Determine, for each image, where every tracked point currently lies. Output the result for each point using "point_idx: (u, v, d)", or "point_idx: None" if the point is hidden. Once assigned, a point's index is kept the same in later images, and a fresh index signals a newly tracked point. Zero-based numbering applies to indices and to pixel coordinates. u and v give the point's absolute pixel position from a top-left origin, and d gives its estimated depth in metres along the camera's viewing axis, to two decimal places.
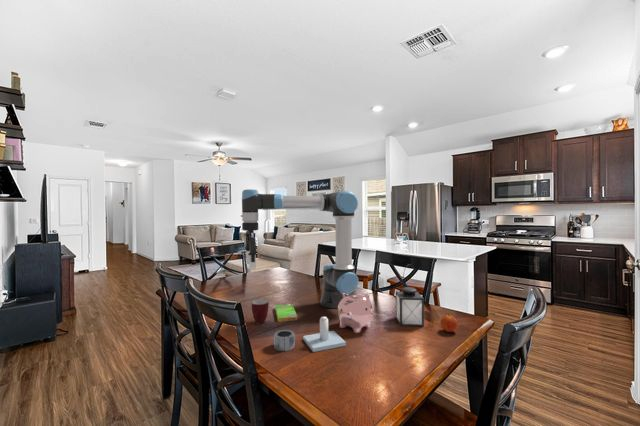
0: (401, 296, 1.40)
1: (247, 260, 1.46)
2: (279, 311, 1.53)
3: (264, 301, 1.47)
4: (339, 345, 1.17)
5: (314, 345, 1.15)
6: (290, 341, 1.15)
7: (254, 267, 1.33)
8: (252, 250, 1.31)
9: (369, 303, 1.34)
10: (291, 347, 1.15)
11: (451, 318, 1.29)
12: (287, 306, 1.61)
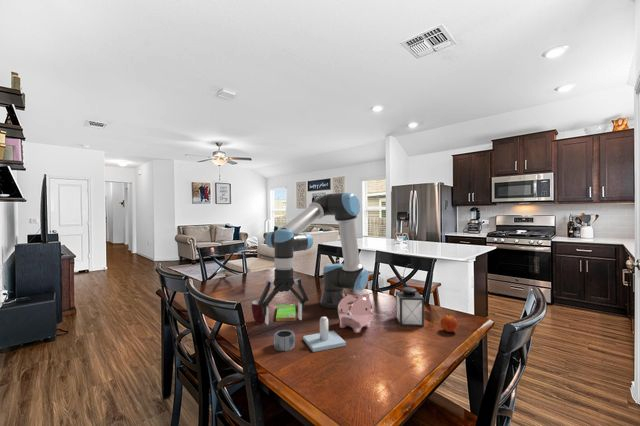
0: (401, 296, 1.40)
1: (298, 313, 1.21)
2: (280, 311, 1.53)
3: None
4: (339, 345, 1.17)
5: (314, 345, 1.15)
6: (290, 341, 1.15)
7: (266, 322, 1.14)
8: (259, 301, 1.14)
9: (369, 303, 1.34)
10: (291, 347, 1.15)
11: (451, 318, 1.29)
12: (289, 306, 1.61)
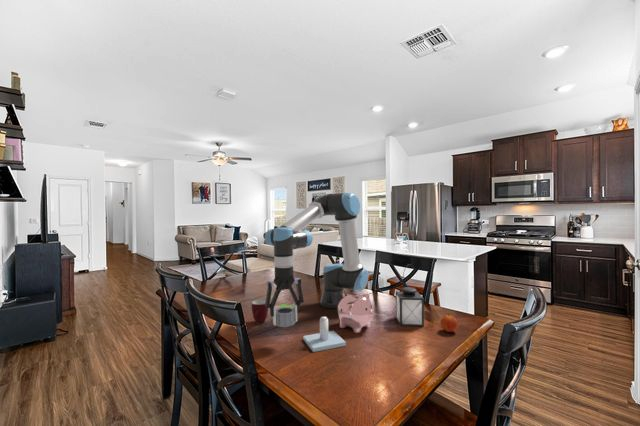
0: (401, 296, 1.40)
1: None
2: None
3: (264, 301, 1.47)
4: (339, 345, 1.17)
5: (314, 345, 1.15)
6: (291, 317, 1.15)
7: (273, 323, 1.16)
8: (265, 302, 1.16)
9: (369, 303, 1.34)
10: (292, 323, 1.16)
11: (451, 318, 1.29)
12: (291, 306, 1.61)
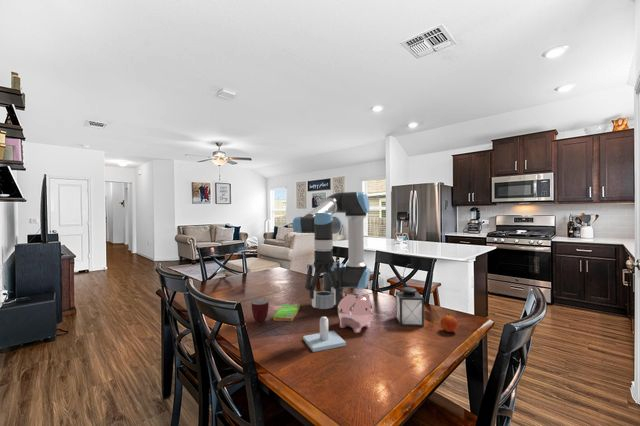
0: (401, 296, 1.40)
1: None
2: (280, 310, 1.54)
3: (264, 301, 1.47)
4: (339, 345, 1.17)
5: (314, 345, 1.15)
6: (330, 300, 1.18)
7: (313, 305, 1.18)
8: (306, 285, 1.18)
9: (369, 303, 1.34)
10: (331, 306, 1.18)
11: (451, 318, 1.29)
12: (292, 306, 1.61)
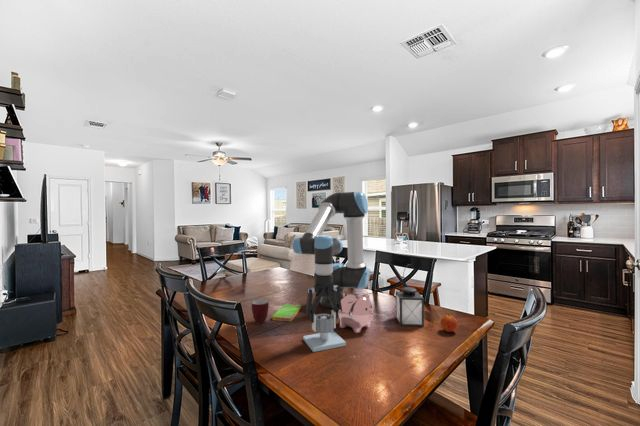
0: (401, 296, 1.40)
1: None
2: (280, 310, 1.54)
3: (264, 301, 1.47)
4: (339, 345, 1.17)
5: (314, 345, 1.15)
6: (330, 324, 1.18)
7: (313, 329, 1.18)
8: (306, 309, 1.18)
9: (369, 303, 1.34)
10: (331, 329, 1.18)
11: (451, 318, 1.29)
12: (293, 306, 1.60)
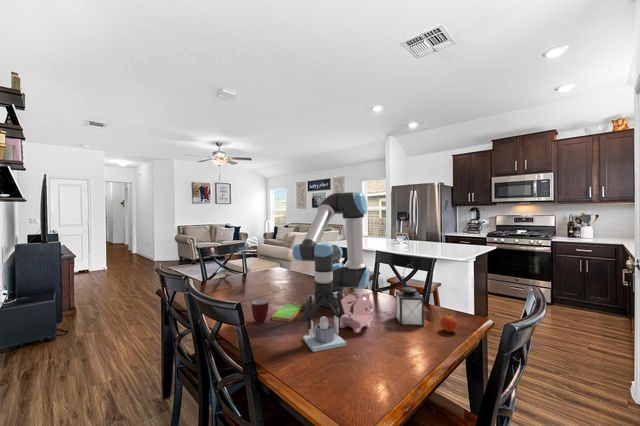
0: (401, 296, 1.40)
1: (334, 327, 1.23)
2: (281, 310, 1.54)
3: (264, 301, 1.47)
4: (339, 345, 1.17)
5: (314, 345, 1.15)
6: (331, 334, 1.18)
7: (310, 335, 1.18)
8: (303, 315, 1.18)
9: (369, 303, 1.34)
10: (331, 339, 1.18)
11: (451, 318, 1.29)
12: (294, 306, 1.60)
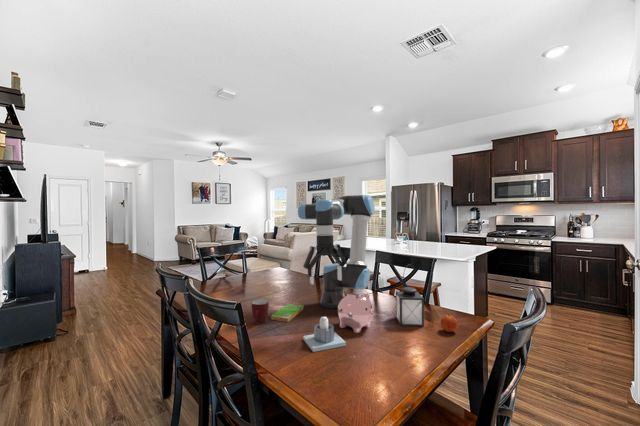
0: (401, 296, 1.40)
1: (338, 275, 1.34)
2: (281, 310, 1.55)
3: (264, 301, 1.47)
4: (339, 345, 1.17)
5: (314, 345, 1.15)
6: (331, 334, 1.18)
7: (311, 282, 1.28)
8: (304, 264, 1.28)
9: (369, 303, 1.34)
10: (331, 339, 1.18)
11: (451, 318, 1.29)
12: (295, 307, 1.60)
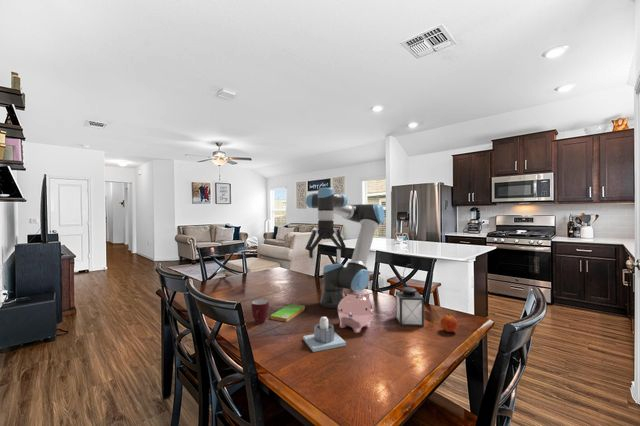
0: (401, 296, 1.40)
1: (337, 258, 1.45)
2: (282, 310, 1.55)
3: (264, 301, 1.47)
4: (339, 345, 1.17)
5: (314, 345, 1.15)
6: (331, 334, 1.18)
7: (312, 263, 1.38)
8: (306, 246, 1.38)
9: (369, 303, 1.34)
10: (331, 339, 1.18)
11: (451, 318, 1.29)
12: (296, 307, 1.59)
